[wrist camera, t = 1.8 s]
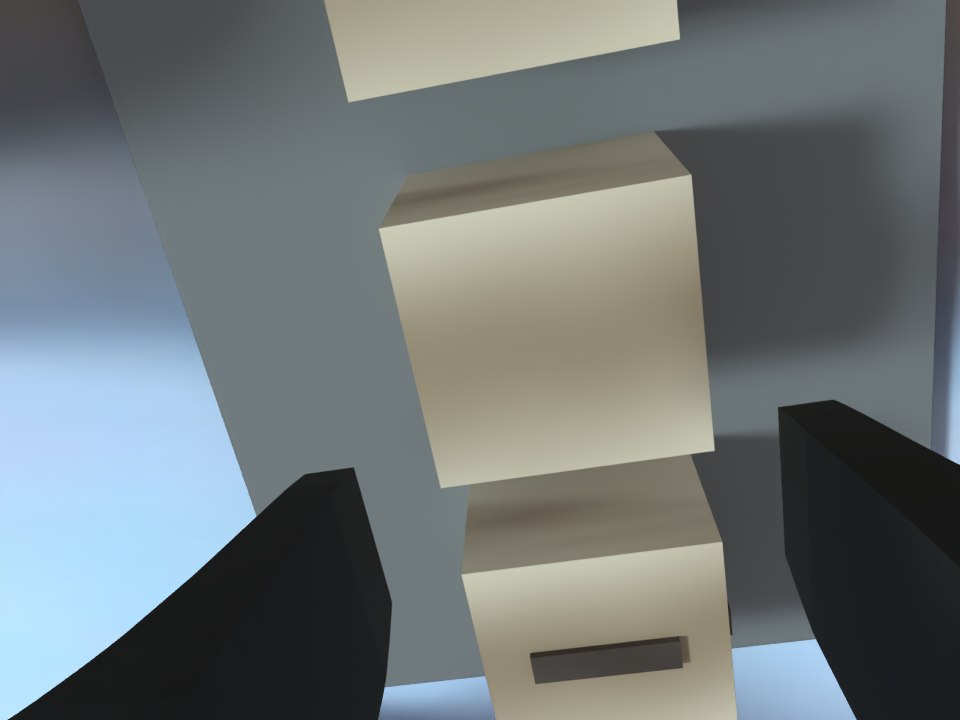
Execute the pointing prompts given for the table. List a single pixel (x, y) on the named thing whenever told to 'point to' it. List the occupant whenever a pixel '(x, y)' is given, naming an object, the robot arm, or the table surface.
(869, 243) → the mat
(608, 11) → the block numbered 7
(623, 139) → the plain block
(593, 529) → the beige square block
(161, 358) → the table surface
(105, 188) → the table surface
